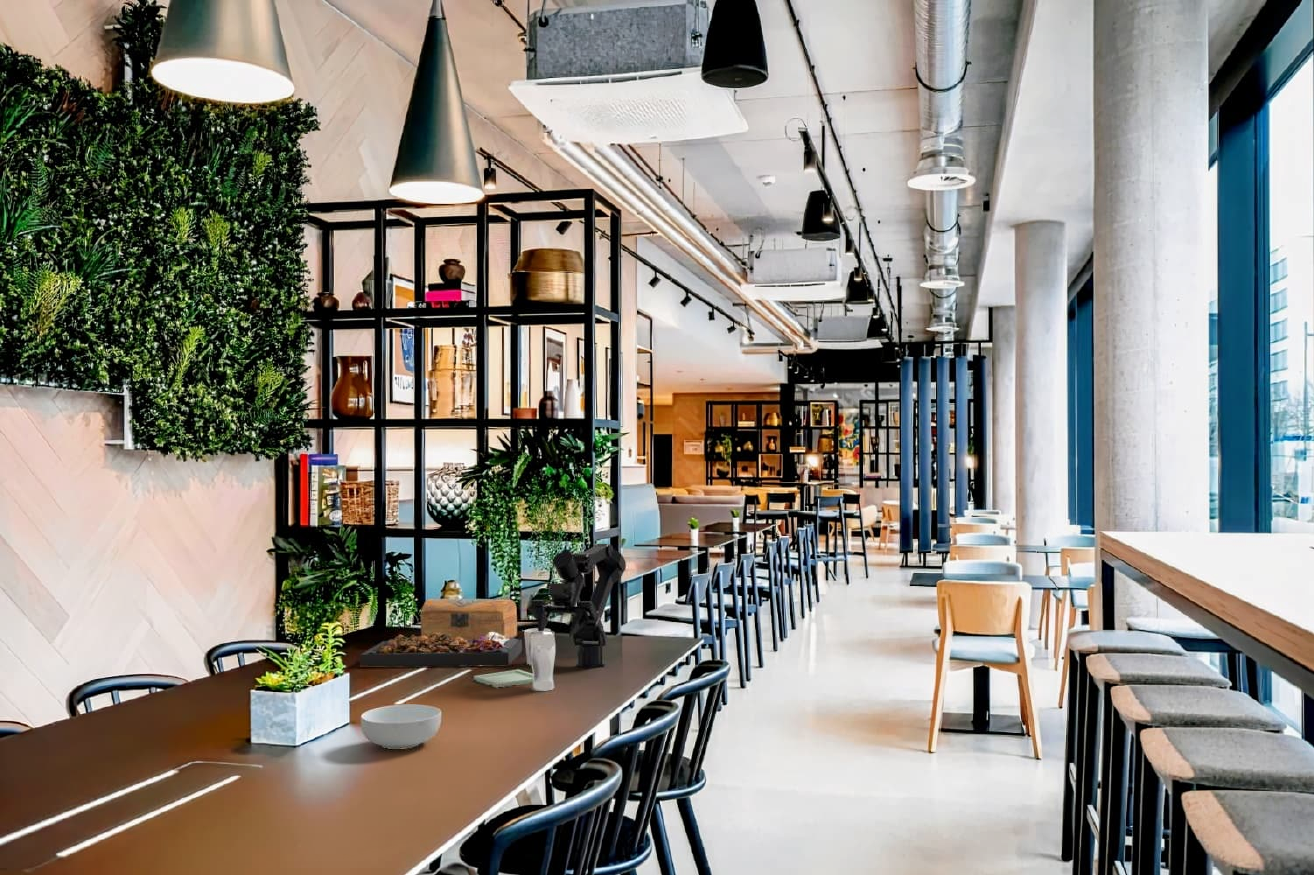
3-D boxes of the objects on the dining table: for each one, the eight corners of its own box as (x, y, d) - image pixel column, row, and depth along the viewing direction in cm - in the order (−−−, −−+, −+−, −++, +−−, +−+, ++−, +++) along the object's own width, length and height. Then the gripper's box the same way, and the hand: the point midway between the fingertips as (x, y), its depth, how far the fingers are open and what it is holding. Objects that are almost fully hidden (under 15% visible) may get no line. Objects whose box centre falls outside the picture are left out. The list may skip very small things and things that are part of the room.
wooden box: (418, 643, 365) (417, 602, 366) (436, 635, 381) (436, 596, 382) (502, 644, 360) (502, 602, 360) (517, 636, 376) (517, 596, 376)
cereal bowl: (370, 760, 220) (370, 725, 220) (353, 742, 235) (353, 709, 235) (451, 748, 228) (450, 715, 228) (429, 732, 243) (429, 700, 243)
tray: (518, 673, 308) (518, 669, 308) (542, 681, 296) (542, 676, 296) (474, 680, 300) (474, 675, 300) (497, 688, 288) (497, 683, 288)
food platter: (522, 653, 344) (521, 621, 345) (508, 668, 320) (508, 633, 320) (383, 654, 346) (382, 622, 346) (359, 669, 321) (359, 635, 322)
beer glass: (530, 686, 289) (529, 631, 290) (556, 686, 290) (555, 630, 290) (529, 692, 282) (528, 635, 283) (556, 691, 283) (555, 634, 283)
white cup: (553, 661, 326) (552, 628, 327) (548, 666, 318) (547, 632, 319) (528, 661, 327) (527, 628, 327) (522, 666, 319) (521, 632, 320)
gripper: (531, 571, 302) (514, 616, 292) (592, 572, 296) (577, 618, 285) (543, 595, 310) (527, 640, 299) (603, 597, 303) (589, 643, 293)
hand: (554, 635), depth 294 cm, fingers open, 9 cm apart
